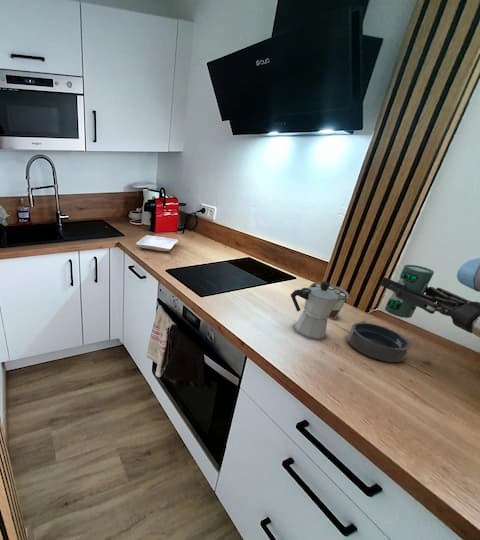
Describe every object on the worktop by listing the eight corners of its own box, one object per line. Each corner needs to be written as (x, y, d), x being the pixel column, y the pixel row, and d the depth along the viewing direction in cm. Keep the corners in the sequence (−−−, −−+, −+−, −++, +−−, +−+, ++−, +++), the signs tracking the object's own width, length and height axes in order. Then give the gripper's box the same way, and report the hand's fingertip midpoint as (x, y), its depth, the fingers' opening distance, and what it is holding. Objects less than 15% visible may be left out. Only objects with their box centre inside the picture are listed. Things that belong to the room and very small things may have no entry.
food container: (346, 316, 104) (356, 292, 100) (339, 321, 100) (349, 296, 96) (310, 302, 113) (318, 279, 109) (302, 306, 110) (310, 283, 106)
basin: (393, 342, 90) (399, 329, 88) (411, 369, 79) (419, 355, 77) (342, 331, 95) (347, 318, 93) (353, 355, 84) (359, 341, 82)
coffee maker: (325, 327, 97) (343, 279, 90) (336, 342, 89) (357, 292, 82) (277, 320, 100) (291, 273, 93) (284, 334, 92) (300, 285, 85)
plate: (146, 239, 184) (146, 234, 183) (178, 244, 177) (179, 239, 175) (134, 248, 166) (135, 243, 165) (170, 254, 159) (170, 248, 157)
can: (384, 305, 93) (404, 263, 87) (409, 312, 90) (431, 268, 84) (385, 312, 89) (405, 268, 83) (411, 320, 85) (435, 274, 79)
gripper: (442, 336, 70) (361, 292, 91) (509, 333, 72) (414, 291, 93) (457, 309, 67) (369, 270, 88) (527, 307, 69) (425, 269, 90)
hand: (393, 281), depth 90 cm, fingers closed on can, 6 cm apart
